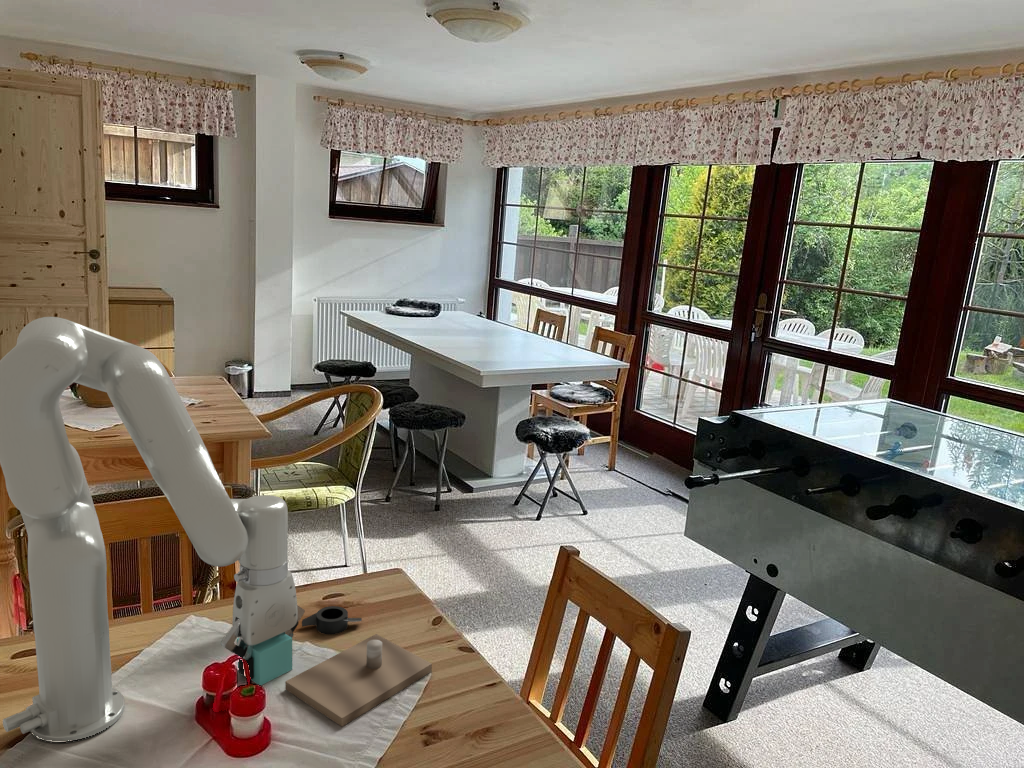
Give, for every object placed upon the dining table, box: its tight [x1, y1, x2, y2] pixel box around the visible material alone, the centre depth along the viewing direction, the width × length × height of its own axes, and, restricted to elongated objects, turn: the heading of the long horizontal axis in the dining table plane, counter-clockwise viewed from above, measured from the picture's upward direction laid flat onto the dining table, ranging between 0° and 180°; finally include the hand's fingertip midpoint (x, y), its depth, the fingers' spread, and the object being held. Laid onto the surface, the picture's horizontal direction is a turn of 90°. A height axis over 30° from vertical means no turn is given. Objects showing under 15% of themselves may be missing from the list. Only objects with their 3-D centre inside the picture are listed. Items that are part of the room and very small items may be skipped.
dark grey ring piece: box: [301, 605, 363, 636], centre depth 147 cm, size 8×10×3 cm
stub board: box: [284, 633, 433, 727], centre depth 131 cm, size 20×14×6 cm
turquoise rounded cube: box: [236, 633, 293, 686], centre depth 132 cm, size 6×6×6 cm
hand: (265, 666), depth 132 cm, fingers closed on turquoise rounded cube, 6 cm apart
